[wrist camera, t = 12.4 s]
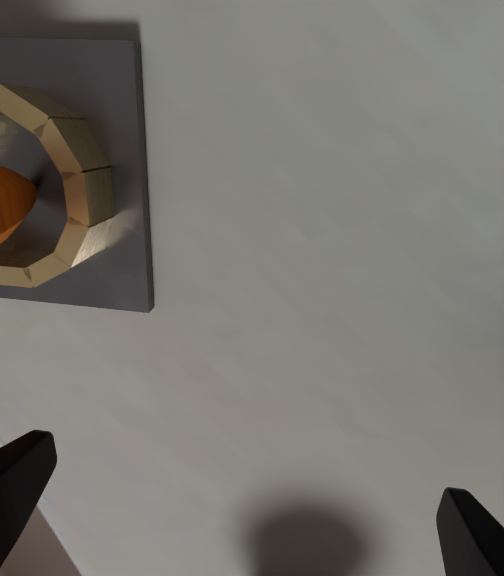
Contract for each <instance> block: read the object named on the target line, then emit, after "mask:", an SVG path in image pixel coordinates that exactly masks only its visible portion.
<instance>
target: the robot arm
mask: <svg viewBox="0 0 504 576" xmlns="http://www.w3.org/2000/svg"><path fill="white" fill-rule="evenodd" d="M56 463H57V454H56V448H55V443H54V438H53V435H52V433H51V432H49V431H42V430H33V431H30V432H28V433H27V434H25V435H23V436H21V437H19V438H17V439H16V440H14V441H12V442H10V443H8V444H6V445H5V446H3V447H1V448H0V567H1V566H2V564H3V562H4V561H5V559H6V558H7V556H8V554H9V553H10V551H11V550H12V548H13V546H14V545H15V543H16V542H17V540H18V538H19V537H20V535H21V533H22V531H23V529H24V528H25V526H26V524H27V522H28V520H29V518H30V516H31V514H32V512H33V510H34V508H35V506H36V505H37V503H38V501H39V499H40V497H41V495H42V493H43V491H44V489H45V487H46V485H47V483H48V481H49V479H50V477H51V475H52V473H53V471H54V469H55V467H56ZM436 522H437V529H438V535H439V540H440V546H441V551H442V556H443V562H444V567H445V573H446V576H504V527H503V526H502V525H501V524H500V523H499V522H498V521H497V520H496V519H495V518H494V517H493V516H492V515H491V514H490V513H489V512H488V511H487V510H486V509H485V508H484V507H483V506H482V505H481V504H480V503H479V502H478V501H477V500H476V499H475V498H474V496H473V495H472V494H471V493H469V492H468V491H467V490H464V489H458V488H451V487H448V488H446V489H445V490H444V492H443V495H442V499H441V502H440V505H439V508H438V511H437V517H436Z"/></svg>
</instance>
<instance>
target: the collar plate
mask: <svg viewBox="0 0 504 576" xmlns="http://www.w3.org/2000/svg"><path fill="white" fill-rule="evenodd" d="M0 166H3V167H6V168H8V169H11V170H13V171H15V172H17V173H18V174H20V175H22V176H23V177H25V178H27V179H29V180H30V181H31V182H32V183H33V184H34V185H35V186H36V189H37V195H38V197H37V200H36V202H35V204H34V206H33V208H32V210H31V211H30V212H29V213H28V214H27V216H26V217H25V218H24V219H23V220H22V222H21V223H20V224H19V225H18V226H17V228H16V229H15V230H14V231H13V232H12V233H11V235H10V236H9V237H8V238H7V239H6V240H5V241H3V242H2V243H1V244H0V298H10V299H20V300H29V301H39V302H49V303H59V304H68V305H78V306H88V307H97V308H107V309H117V310H127V311H136V312H146V313H149V312H150V311H151V310H152V309H153V308H154V294H153V275H152V256H151V237H150V218H149V199H148V181H147V162H146V143H145V124H144V105H143V86H142V68H141V49H140V44H139V43H137V42H135V41H133V40H96V39H57V38H18V37H0Z"/></svg>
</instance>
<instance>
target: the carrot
mask: <svg viewBox="0 0 504 576" xmlns="http://www.w3.org/2000/svg"><path fill="white" fill-rule="evenodd" d="M37 197H38V195H37V189H36V186H35V185H34V184H33V183H32V182H31V181H30V180H29V179H27V178H25V177H23V176H22V175H20V174H18V173H17V172H15V171H13V170H11V169H8V168H6V167H3V166H0V244H1V243H2V242H3V241H5V240H6V239H7V238H8V237H9V236H10V235H11V233H12V232H13V231H14V230H15V229H16V228H17V226H18V225H19V224H20V223H21V222H22V220H23V219H24V218H25V217H26V216H27V214H28V213H29V212H30V211H31V210H32V208H33V206H34V204H35V202H36V200H37Z"/></svg>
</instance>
